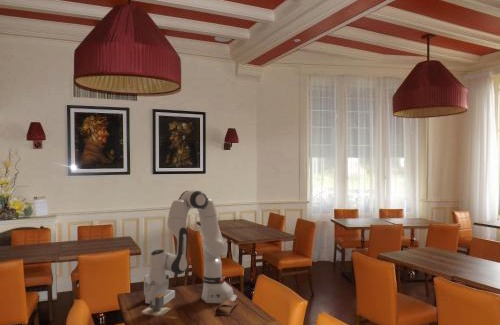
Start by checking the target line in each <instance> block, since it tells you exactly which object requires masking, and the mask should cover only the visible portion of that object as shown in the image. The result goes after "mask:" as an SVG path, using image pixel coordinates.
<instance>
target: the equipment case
mask: <svg viewBox="0 0 500 325" xmlns="http://www.w3.org/2000/svg"><path fill="white" fill-rule="evenodd" d="M149 283H150V282H149V273H147V274H146V275H144V277H143V296H144V297H145V295H146V288H147V286H148V284H149ZM163 294H164V306H165V305H166V304H168V303H169V302H171V301H172V299H174V298H175V297H176V290H173V289H167V290H166V291H165V292H163ZM144 300H145V301H144V302H145V304H148V305H150V300H146V299H144Z"/></svg>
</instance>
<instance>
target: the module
mask: <svg viewBox="0 0 500 325" xmlns="http://www.w3.org/2000/svg"><path fill="white" fill-rule="evenodd" d="M155 301H156V305H152V301H150V304H149V306H150V308H151V309H161V308H162V307H165V305H164V294H160V295H159V296H157V297H156V298H155Z"/></svg>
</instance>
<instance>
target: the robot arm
mask: <svg viewBox="0 0 500 325" xmlns="http://www.w3.org/2000/svg"><path fill="white" fill-rule="evenodd" d="M191 209H196V210H197V212H198V217H199V222H200V223H199V224H200V228H201V231H202V232H201V233H202V235H203V238H202V241H201V244H202V255H203V275H202V276H203V278H202V283H203V287H202V294H201V297H200V298H201V300H202V301H203V302H205V303H206V304H221V303H222V302H223V301H224V300H225V299H226V298H228V299H229V300H231V301H234V302H235V301H237V299H236V298H238V296H237V294H234V289H233V287H232V286H230V284H228V283H227V282H225V279H226V276H225V275H224V276H223V275H222V270H223V269H222V268H223V267H222V264H223V262H222V260H221V256H223V254H224V253H225V250H226V246H225V242H224V239H223V235H222V232H221V230H220V226H219V220H218V214H217V210H216V207H215V203H214V201H213V199H212V198H210V197H207V194H205V193H204V192H203V191H201V190H196V189H195V190H194V189H193V190H185V191H183V192H182V193H181V194H180V196H179V198H178V199H176V200H173V201H172V203H171V205H170V208H169V212H168V217H167V223H166V224H167V228H168V231H170V232H171V233H172V234H173V235H174V237H175V238H176V242H177V243H176V254H175V253H171V252H167V251H165V250H163V249H156V250H153V251H152V252H151V254H150V255H149V256H150V257H149V273H148V274H149V282H150V283H149V284H148V286H147V288H146V295H145V296H144V297H145V299H146V300H150V301H152V305H156V301H155V298H156V297H157V296H159V295H160V294H163V292H165V291H166V290H169V285H170V284H169V283H170V282H169V278H170V275H169V274H166V271H169V272H172V273H174V274H175V275H182V274H184V273H185V272H186V270H187V269H188V267H189V266H188V265H189V261H188V260H189V259H188V246H189V243H188V242H189V233H188V229H187V219H188V214H189V211H190V210H191ZM145 299H144V300H145Z"/></svg>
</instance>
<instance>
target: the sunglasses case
mask: <svg viewBox="0 0 500 325" xmlns="http://www.w3.org/2000/svg"><path fill="white" fill-rule="evenodd" d="M236 305H237V306H238V305H239V304H238V303H236V302H235V301H234V302H233V301H231V300H229V299H228V298H226V299H225V300H224V301H223V302H222V303H219V305H218V307H216V309H215V314H216V315H220V316H227V315H228V316H230V314H231V313H232V311H233V310H234V309H235V308H236V307H237V306H236ZM235 306H236V307H235Z"/></svg>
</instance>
